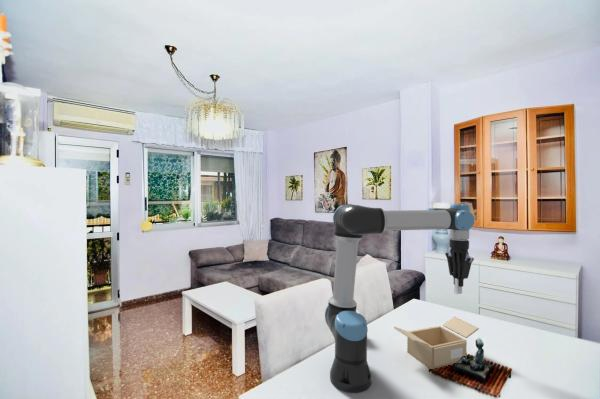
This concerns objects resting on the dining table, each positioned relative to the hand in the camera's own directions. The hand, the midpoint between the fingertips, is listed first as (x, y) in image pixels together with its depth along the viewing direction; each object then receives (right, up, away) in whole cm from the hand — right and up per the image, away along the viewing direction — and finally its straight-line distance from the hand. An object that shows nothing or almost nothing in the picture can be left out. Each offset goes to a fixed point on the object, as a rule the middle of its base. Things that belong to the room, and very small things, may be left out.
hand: (458, 293), depth 131 cm
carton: (-11, -26, -4) cm, 29 cm away
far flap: (-2, -17, -1) cm, 17 cm away
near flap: (-20, -17, -7) cm, 27 cm away
